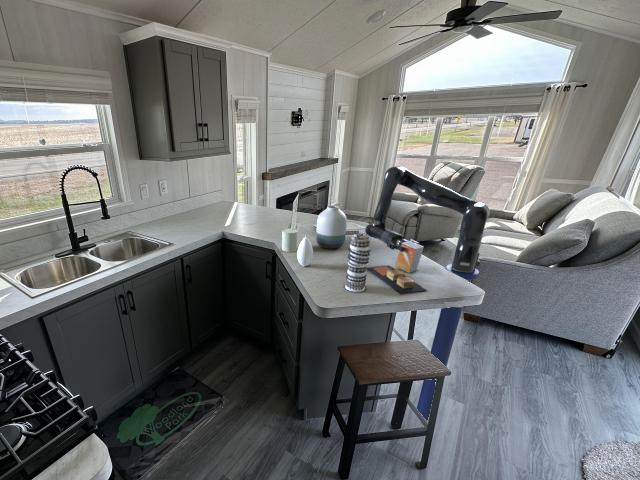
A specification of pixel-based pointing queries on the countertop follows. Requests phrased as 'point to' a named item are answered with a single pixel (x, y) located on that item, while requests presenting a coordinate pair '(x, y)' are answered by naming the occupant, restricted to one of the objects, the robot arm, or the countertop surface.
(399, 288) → the word mat
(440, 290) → the countertop surface
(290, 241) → the can
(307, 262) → the white teardrop ornament
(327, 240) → the vase
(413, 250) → the small box
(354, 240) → the decorative candle
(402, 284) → the letter block
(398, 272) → the block
